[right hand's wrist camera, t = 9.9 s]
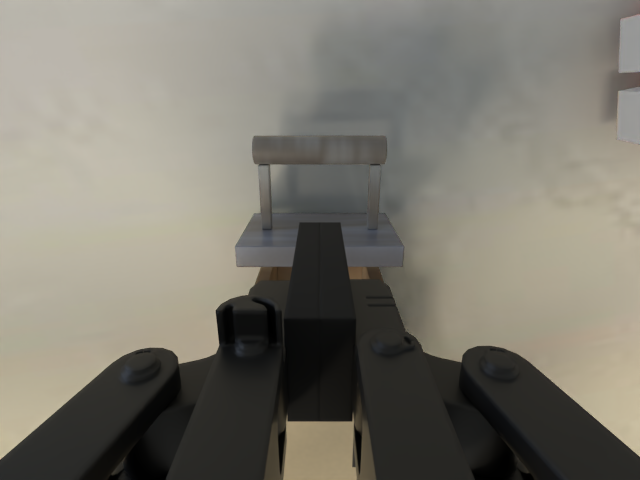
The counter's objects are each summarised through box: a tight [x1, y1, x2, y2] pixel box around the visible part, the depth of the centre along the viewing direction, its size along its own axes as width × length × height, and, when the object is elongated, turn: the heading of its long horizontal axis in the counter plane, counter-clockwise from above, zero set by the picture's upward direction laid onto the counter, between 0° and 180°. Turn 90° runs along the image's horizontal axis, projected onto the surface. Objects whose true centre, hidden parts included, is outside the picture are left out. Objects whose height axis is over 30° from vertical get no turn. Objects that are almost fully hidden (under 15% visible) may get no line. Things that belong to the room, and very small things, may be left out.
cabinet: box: [283, 418, 357, 480], centre depth 30 cm, size 21×10×8 cm, turn 0°
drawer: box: [235, 136, 404, 285], centre depth 26 cm, size 25×9×6 cm, turn 0°
